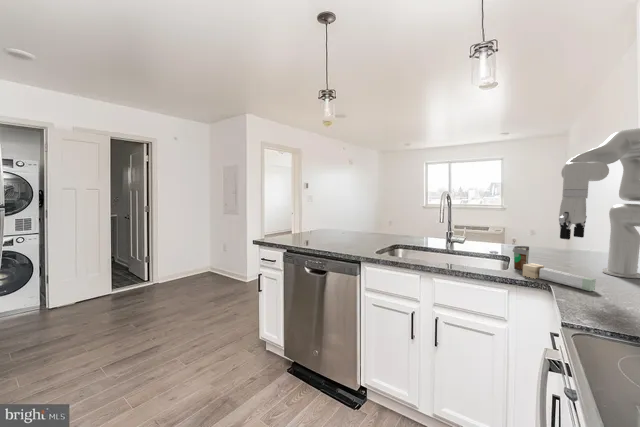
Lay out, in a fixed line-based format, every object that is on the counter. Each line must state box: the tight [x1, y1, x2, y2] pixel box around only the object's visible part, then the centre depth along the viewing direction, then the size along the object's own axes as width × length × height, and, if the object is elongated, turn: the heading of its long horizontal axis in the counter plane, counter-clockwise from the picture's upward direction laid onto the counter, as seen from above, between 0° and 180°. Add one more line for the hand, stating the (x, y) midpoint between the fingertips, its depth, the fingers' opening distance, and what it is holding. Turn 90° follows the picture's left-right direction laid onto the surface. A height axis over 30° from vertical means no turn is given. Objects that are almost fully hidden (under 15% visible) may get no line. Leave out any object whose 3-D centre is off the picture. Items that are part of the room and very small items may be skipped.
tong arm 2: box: [543, 267, 597, 292], centre depth 121 cm, size 18×2×4 cm, turn 24°
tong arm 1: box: [538, 268, 594, 292], centre depth 120 cm, size 18×2×4 cm, turn 25°
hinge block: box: [521, 263, 545, 280], centre depth 132 cm, size 6×5×5 cm
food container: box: [512, 245, 530, 272], centre depth 146 cm, size 12×6×10 cm, turn 141°
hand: (571, 238), depth 119 cm, fingers open, 9 cm apart
